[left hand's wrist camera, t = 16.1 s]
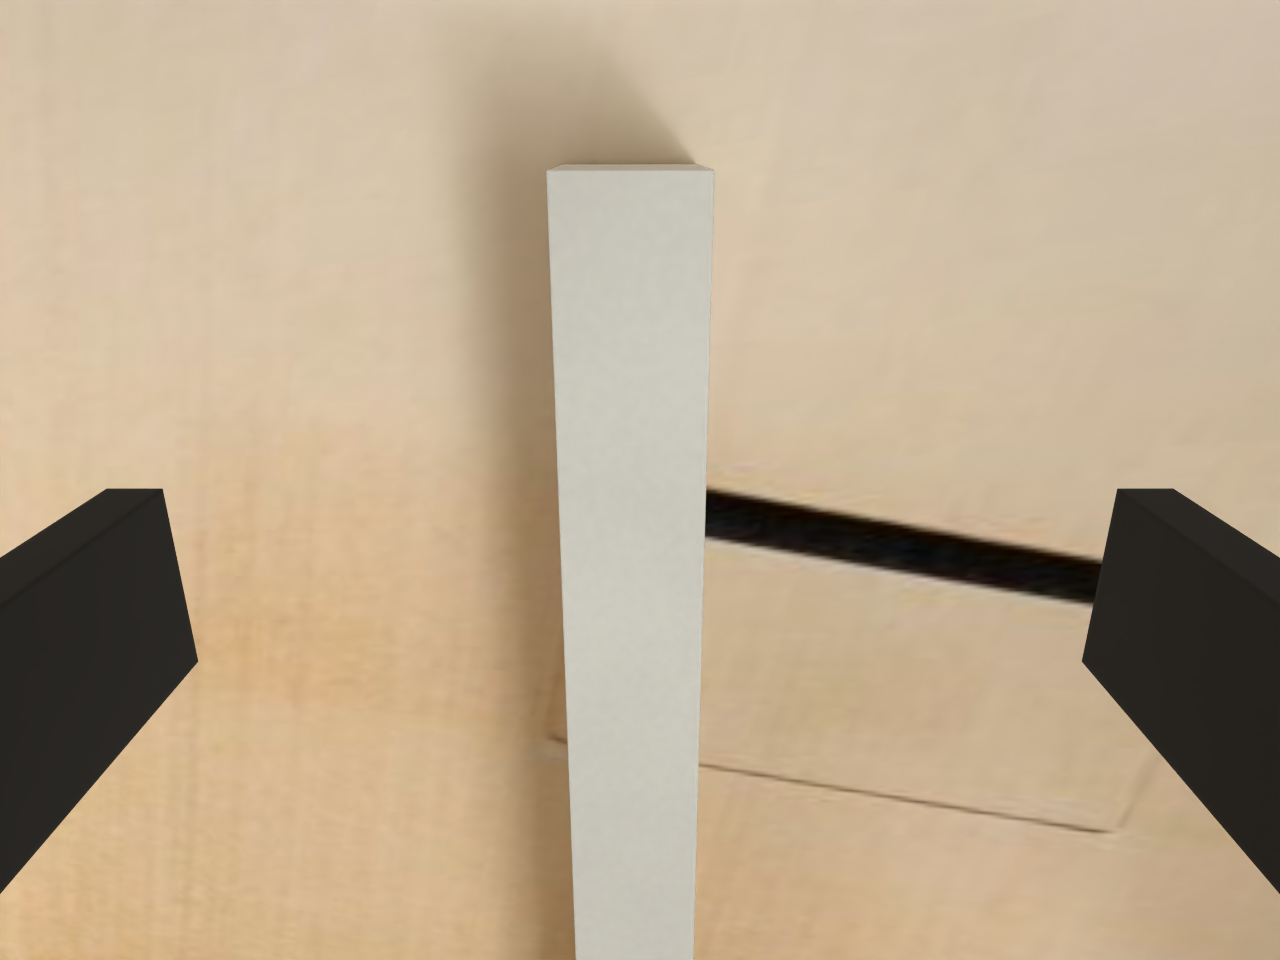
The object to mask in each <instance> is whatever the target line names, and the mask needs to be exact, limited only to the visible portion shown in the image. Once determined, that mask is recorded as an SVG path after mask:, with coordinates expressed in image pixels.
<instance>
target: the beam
mask: <svg viewBox="0 0 1280 960" xmlns="http://www.w3.org/2000/svg"><path fill="white" fill-rule="evenodd" d="M546 184H547V211H548V237H549V264H550V291H551V317H552V344H553V370H554V397H555V424H556V450H557V477H558V503H559V530H560V557H561V583H562V610H563V636H564V663H565V690H566V716H567V743H568V769H569V796H570V823H571V849H572V876H573V902H574V929H575V956H576V960H693V955H694V918H695V881H696V843H697V806H698V769H699V731H700V694H701V657H702V619H703V582H704V545H705V507H706V470H707V433H708V395H709V358H710V321H711V283H712V246H713V209H714V170H713V169H710V168H707V167H704V166H701V165H698V164H562V165H560V166H557V167H554V168H552V169H549V170H547V171H546Z"/></svg>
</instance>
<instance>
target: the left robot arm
mask: <svg viewBox="0 0 1280 960" xmlns="http://www.w3.org/2000/svg"><path fill="white" fill-rule="evenodd" d="M197 662H198V658H197V653H196V649H195V644H194V639H193V634H192V629H191V624H190V620H189V615H188V610H187V605H186V600H185V595H184V590H183V586H182V581H181V576H180V571H179V566H178V561H177V556H176V552H175V547H174V542H173V537H172V532H171V527H170V522H169V518H168V513H167V508H166V503H165V498H164V493H163V489H106V490H104V491H102V492H101V493H99V494H98V495H96V496H95V497H93V498H92V499H90V500H89V501H87V502H85V503H84V504H82V505H81V506H79V507H78V508H76V509H75V510H73V511H72V512H70V513H69V514H67V515H65V516H64V517H62V518H61V519H59V520H58V521H56V522H55V523H53V524H52V525H50V526H48V527H47V528H45V529H44V530H42V531H41V532H39V533H38V534H36V535H35V536H33V537H32V538H30V539H28V540H27V541H25V542H24V543H22V544H21V545H19V546H18V547H16V548H15V549H13V550H11V551H10V552H8V553H7V554H5V555H4V556H2V557H1V558H0V894H1V892H2V891H3V890H4V889H5V888H6V886H7V885H8V884H9V883H10V882H11V881H12V879H13V878H14V877H15V876H16V875H17V874H18V872H19V871H20V870H21V869H22V868H23V867H24V865H25V864H26V863H27V862H28V861H29V859H30V858H31V857H32V856H33V855H34V854H35V852H36V851H37V850H38V849H39V848H40V847H41V845H42V844H43V843H44V842H45V841H46V840H47V838H48V837H49V836H50V835H51V834H52V832H53V831H54V830H55V829H56V828H57V827H58V825H59V824H60V823H61V822H62V821H63V820H64V818H65V817H66V816H67V815H68V814H69V813H70V811H71V810H72V809H73V808H74V807H75V805H76V804H77V803H78V802H79V801H80V800H81V798H82V797H83V796H84V795H85V794H86V793H87V791H88V790H89V789H90V788H91V787H92V786H93V784H94V783H95V782H96V781H97V780H98V778H99V777H100V776H101V775H102V774H103V773H104V771H105V770H106V769H107V768H108V767H109V766H110V764H111V763H112V762H113V761H114V760H115V759H116V757H117V756H118V755H119V754H120V753H121V751H122V750H123V749H124V748H125V747H126V746H127V744H128V743H129V742H130V741H131V740H132V739H133V737H134V736H135V735H136V734H137V733H138V732H139V730H140V729H141V728H142V727H143V726H144V724H145V723H146V722H147V721H148V720H149V719H150V717H151V716H152V715H153V714H154V713H155V712H156V710H157V709H158V708H159V707H160V706H161V705H162V703H163V702H164V701H165V700H166V699H167V697H168V696H169V695H170V694H171V693H172V692H173V690H174V689H175V688H176V687H177V686H178V685H179V683H180V682H181V681H182V680H183V679H184V678H185V676H186V675H187V674H188V673H189V672H190V670H191V669H192V668H193V667H194V666H195V665H196V663H197ZM1082 662H1083V663H1084V665H1085V666H1086V667H1087V668H1088V669H1089V670H1090V672H1091V673H1092V674H1093V675H1094V676H1095V678H1096V679H1097V680H1098V681H1099V682H1100V683H1101V685H1102V686H1103V687H1104V688H1105V689H1106V690H1107V692H1108V693H1109V694H1110V695H1111V696H1112V697H1113V699H1114V700H1115V701H1116V702H1117V703H1118V705H1119V706H1120V707H1121V708H1122V709H1123V710H1124V712H1125V713H1126V714H1127V715H1128V716H1129V717H1130V719H1131V720H1132V721H1133V722H1134V723H1135V724H1136V726H1137V727H1138V728H1139V729H1140V730H1141V732H1142V733H1143V734H1144V735H1145V736H1146V737H1147V739H1148V740H1149V741H1150V742H1151V743H1152V744H1153V746H1154V747H1155V748H1156V749H1157V750H1158V751H1159V753H1160V754H1161V755H1162V756H1163V757H1164V759H1165V760H1166V761H1167V762H1168V763H1169V764H1170V766H1171V767H1172V768H1173V769H1174V770H1175V771H1176V773H1177V774H1178V775H1179V776H1180V777H1181V778H1182V780H1183V781H1184V782H1185V783H1186V784H1187V786H1188V787H1189V788H1190V789H1191V790H1192V791H1193V793H1194V794H1195V795H1196V796H1197V797H1198V798H1199V800H1200V801H1201V802H1202V803H1203V804H1204V805H1205V807H1206V808H1207V809H1208V810H1209V811H1210V813H1211V814H1212V815H1213V816H1214V817H1215V818H1216V820H1217V821H1218V822H1219V823H1220V824H1221V825H1222V827H1223V828H1224V829H1225V830H1226V831H1227V832H1228V834H1229V835H1230V836H1231V837H1232V838H1233V840H1234V841H1235V842H1236V843H1237V844H1238V845H1239V847H1240V848H1241V849H1242V850H1243V851H1244V852H1245V854H1246V855H1247V856H1248V857H1249V858H1250V859H1251V861H1252V862H1253V863H1254V864H1255V865H1256V867H1257V868H1258V869H1259V870H1260V871H1261V872H1262V874H1263V875H1264V876H1265V877H1266V878H1267V879H1268V881H1269V882H1270V883H1271V884H1272V885H1273V886H1274V888H1275V889H1276V890H1277V891H1278V892H1279V894H1280V558H1279V557H1278V556H1276V555H1275V554H1273V553H1272V552H1270V551H1269V550H1267V549H1265V548H1264V547H1262V546H1261V545H1259V544H1258V543H1256V542H1255V541H1253V540H1252V539H1250V538H1248V537H1247V536H1245V535H1244V534H1242V533H1241V532H1239V531H1238V530H1236V529H1235V528H1233V527H1232V526H1230V525H1228V524H1227V523H1225V522H1224V521H1222V520H1221V519H1219V518H1218V517H1216V516H1215V515H1213V514H1211V513H1210V512H1208V511H1207V510H1205V509H1204V508H1202V507H1201V506H1199V505H1198V504H1196V503H1195V502H1193V501H1191V500H1190V499H1188V498H1187V497H1185V496H1184V495H1182V494H1181V493H1179V492H1178V491H1176V490H1174V489H1117V493H1116V498H1115V503H1114V508H1113V513H1112V518H1111V522H1110V527H1109V532H1108V537H1107V542H1106V547H1105V552H1104V556H1103V561H1102V566H1101V571H1100V576H1099V581H1098V586H1097V590H1096V595H1095V600H1094V605H1093V610H1092V615H1091V620H1090V624H1089V629H1088V634H1087V639H1086V644H1085V649H1084V653H1083V658H1082Z"/></svg>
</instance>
